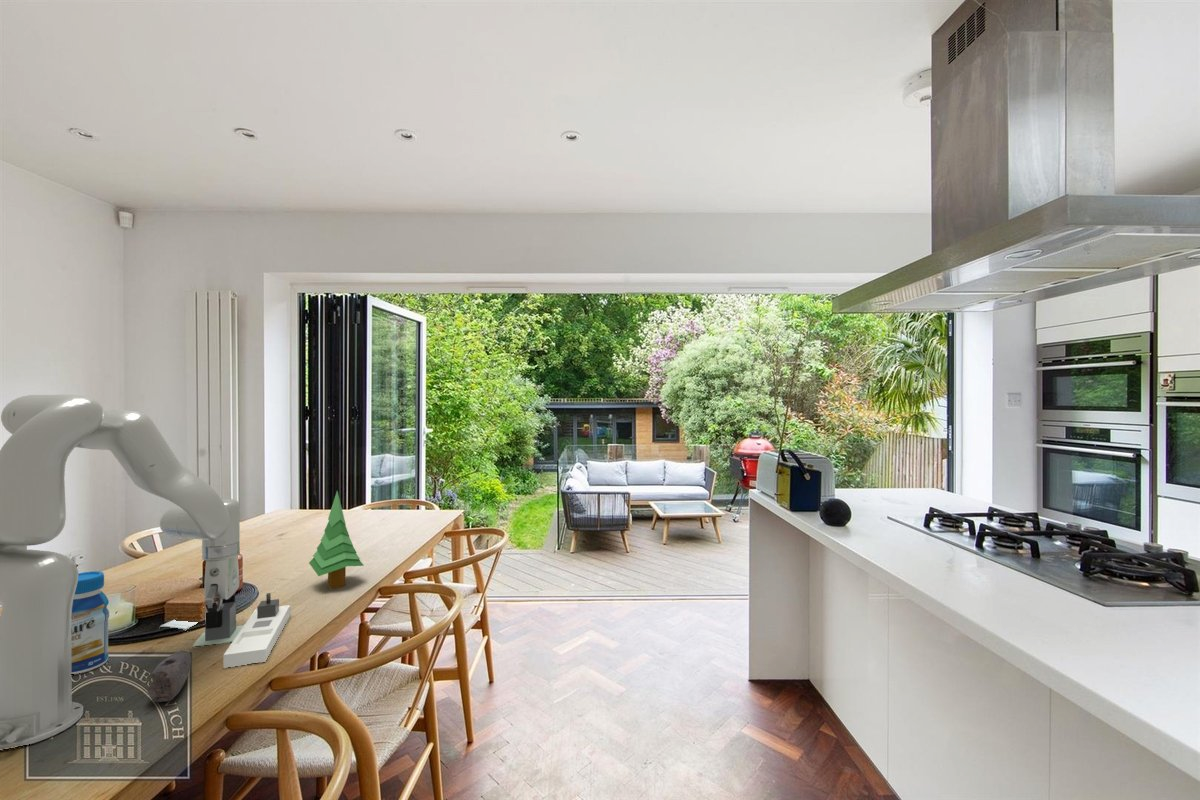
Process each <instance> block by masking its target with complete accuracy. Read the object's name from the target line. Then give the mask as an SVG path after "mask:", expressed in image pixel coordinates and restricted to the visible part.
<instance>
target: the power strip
mask: <svg viewBox="0 0 1200 800" xmlns="http://www.w3.org/2000/svg"><path fill="white" fill-rule="evenodd" d="M271 596H272V595H271V593H270V592H268V593H266V597H265V598H266V599H265V600H261V601H260V603H258V605H257V607H256V608H255V609H254V611H253V612H252V614H251V615H250V616H249V618H248V619H247V621H246V622H245V623H244V624H243V625H244V626H243V628H242V629H241V631H240V632H239V633H238V635H237V636H236V638H235V639H234V641H233V642H232V643H231V644H229V646H228V648H227V649H226V650H225V652H224V654H223V655H222V656H223V662H222V663H223V665H222V666H223V667H222V668H224V669H229V668H228V667H231V668H236V667H235V666H238V667H242V666H241V665H245V666H248V665H247V664H251V663H258V662H265V661H266V660H267V661H268V659H269V657H270V655H271V653H272V652H271V650H272V648H273V646H274V645H275V646H276V644H277V642H278V640H279V638H280V636H281V634H282V632H283V631H282V630H284V629H285V627H286V625H285V624H288V623H287V622H288V621H289V619H290V617H291V605H290V604H288V605H280V599H279V598H276V599H271V598H272V597H271ZM284 626H285V627H284ZM283 628H284V629H283ZM280 633H281V634H280ZM279 635H280V636H279ZM278 637H279V638H278ZM277 639H278V640H277ZM276 641H277V642H276ZM275 643H276V644H275ZM275 646H274V647H275ZM273 649H274V648H273ZM272 651H273V650H272ZM270 652H271V653H270ZM269 654H270V655H269ZM268 656H269V657H268ZM267 658H268V659H267ZM267 661H266V662H267Z"/></svg>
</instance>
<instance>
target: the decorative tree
mask: <svg viewBox="0 0 1200 800" xmlns="http://www.w3.org/2000/svg"><path fill="white" fill-rule="evenodd" d="M357 553H358V552H357V551H356V549H355V547H354V545H353V542H352V540H351V537H350V535H349V531H348V528H347V526H346V519H345V516H344V511H343V507H342V504H341V499H340V496H339V492H338V490H336V493H335V496H334V499H333V502H332V506H331V508H330V512H329V515H328V522H327V523H326V526H325V529H324V533H323V535H322V537H321V539H320V543H319V544H318V546H317V547H316V551H315V552H314V554H313V555H312V557H313V558H312V559H311V560H310V561H309V562H308V564H309V565H310V566H311V568H312V569H313V571H314V572H315V573H316V575H317V576H318V577H321V576H323V575H326V574H327V587H328V588H330V589H337V588H339V587H340V588H342V587H344V586H345V585H346V583H347V582H346V579H347V578H346V575H347V574H346V572H347V571H346V570H347V569H346V568H347V567H364V563H362V560H361V558H360V557H359V556H358V554H357ZM340 588H339V589H340Z"/></svg>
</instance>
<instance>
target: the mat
mask: <svg viewBox="0 0 1200 800" xmlns="http://www.w3.org/2000/svg"><path fill="white" fill-rule="evenodd" d="M244 625H245V624H241V625H236V630H235V631H234V633H233V634H232V635H231V637H230V638H225V639H217V640H210V641H205V630H204V631H203V632H202V633H201V635H200V636H199V637H198V638H197V639H196V641H195V642H194V643H193V644H192V645H191V648H192V647H193V648H195V647H194V646H201V647H205V646H204V645H209V646H213V645H212V644H216V645H221V644H222V645H223V643H224V644H230V642H233V641H234V639H235V638H236V636H237V635H238V633H239V632H240V631H241V629H242V628H243V626H244Z"/></svg>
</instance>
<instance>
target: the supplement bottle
mask: <svg viewBox="0 0 1200 800" xmlns="http://www.w3.org/2000/svg"><path fill="white" fill-rule="evenodd" d="M104 585H105V574H104V572H103V571H96V570H93V571H84V572H78V583H77V587H76V591H75V595H74V599H73V605H72V615H71V674H74V675H79V673H80V674H84V673H87V672H90V671H93V670H95V669H97V668H99V667H102V666H103V665H105V664H106V663H107V661H108V660H109V618H110V610H109V609H108V608H107V607H108V605H109V599H108V596H107V595H106V594H105V592H103V591H102V589H104Z"/></svg>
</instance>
